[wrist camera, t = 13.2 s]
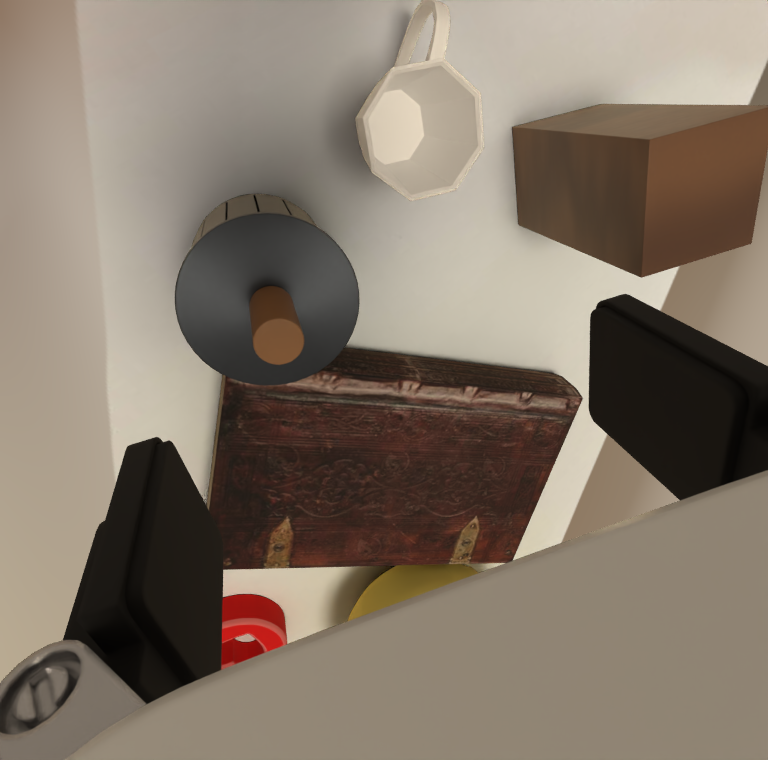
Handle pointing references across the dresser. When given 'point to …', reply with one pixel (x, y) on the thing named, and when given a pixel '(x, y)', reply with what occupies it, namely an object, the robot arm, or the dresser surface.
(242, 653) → the decorative ornament
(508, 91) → the dresser surface
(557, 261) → the dresser surface
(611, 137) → the stand
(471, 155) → the cup
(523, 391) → the book
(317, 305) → the lid
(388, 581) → the vase
